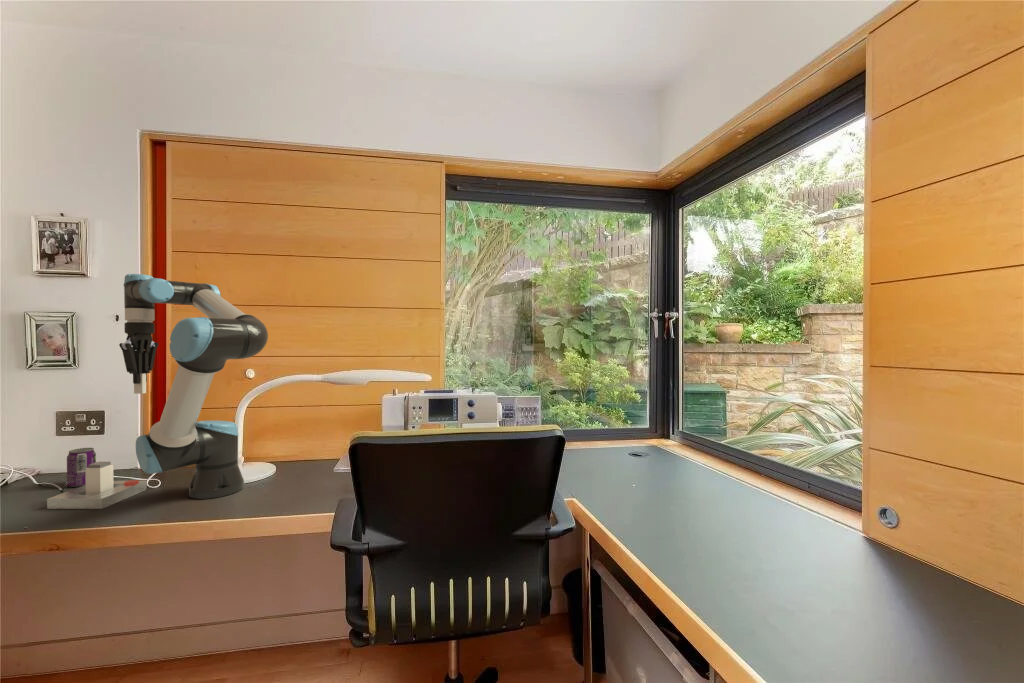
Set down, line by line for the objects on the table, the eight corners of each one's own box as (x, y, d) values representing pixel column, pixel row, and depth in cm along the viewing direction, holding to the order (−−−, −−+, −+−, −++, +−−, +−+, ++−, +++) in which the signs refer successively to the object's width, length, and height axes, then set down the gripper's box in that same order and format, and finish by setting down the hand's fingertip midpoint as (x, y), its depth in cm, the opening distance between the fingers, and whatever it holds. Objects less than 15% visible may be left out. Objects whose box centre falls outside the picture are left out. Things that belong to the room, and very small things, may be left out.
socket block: (146, 489, 145) (146, 478, 145) (102, 508, 129) (102, 496, 129) (97, 489, 145) (97, 478, 145) (47, 508, 129) (47, 496, 129)
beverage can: (101, 481, 153) (101, 447, 153) (82, 488, 146) (82, 452, 146) (80, 481, 153) (80, 447, 153) (60, 488, 146) (60, 452, 146)
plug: (113, 495, 139) (113, 461, 139) (100, 500, 135) (100, 465, 135) (99, 495, 139) (99, 461, 139) (85, 500, 135) (85, 465, 135)
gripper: (144, 322, 150) (144, 390, 150) (110, 321, 137) (110, 396, 137) (166, 322, 150) (166, 390, 150) (134, 321, 137) (135, 396, 137)
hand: (140, 393), depth 144 cm, fingers closed
